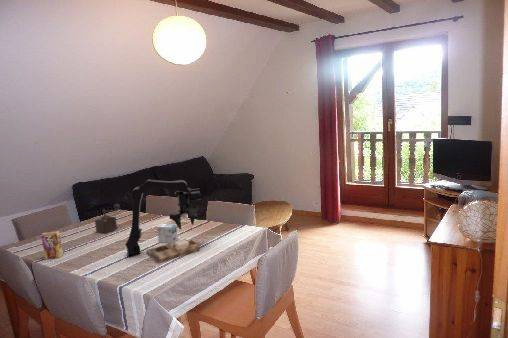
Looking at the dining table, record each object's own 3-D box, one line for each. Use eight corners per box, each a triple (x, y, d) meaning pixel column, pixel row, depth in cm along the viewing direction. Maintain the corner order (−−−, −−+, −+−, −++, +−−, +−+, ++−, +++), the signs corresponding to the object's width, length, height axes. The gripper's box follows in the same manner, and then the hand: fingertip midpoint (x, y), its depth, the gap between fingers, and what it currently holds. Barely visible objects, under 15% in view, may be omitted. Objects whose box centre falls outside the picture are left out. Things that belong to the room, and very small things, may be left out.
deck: (158, 263, 195) (157, 257, 194) (146, 253, 210) (145, 247, 210) (199, 250, 209) (198, 245, 208) (185, 242, 224) (185, 236, 224)
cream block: (179, 251, 204) (178, 244, 204) (175, 248, 209) (174, 242, 209) (189, 248, 208) (188, 242, 207) (185, 245, 213) (184, 239, 212)
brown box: (106, 234, 250) (103, 209, 247) (95, 232, 255) (92, 208, 252) (123, 227, 263) (120, 203, 260) (113, 225, 269) (110, 202, 266)
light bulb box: (178, 239, 230) (176, 223, 228) (173, 243, 224) (171, 226, 222) (163, 238, 233) (161, 223, 231) (158, 242, 227) (156, 226, 225)
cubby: (180, 252, 203) (179, 249, 202) (173, 247, 211) (173, 244, 210) (198, 247, 209) (198, 244, 209) (191, 242, 217) (190, 239, 217)
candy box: (63, 254, 216) (59, 230, 214) (60, 257, 212) (56, 233, 210) (48, 256, 216) (44, 232, 213) (44, 259, 211) (40, 234, 209)
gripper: (179, 207, 198) (182, 234, 201) (204, 199, 212) (207, 224, 215) (167, 205, 206) (170, 230, 208) (192, 197, 219) (195, 221, 222)
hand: (186, 226), depth 213 cm, fingers open, 9 cm apart
